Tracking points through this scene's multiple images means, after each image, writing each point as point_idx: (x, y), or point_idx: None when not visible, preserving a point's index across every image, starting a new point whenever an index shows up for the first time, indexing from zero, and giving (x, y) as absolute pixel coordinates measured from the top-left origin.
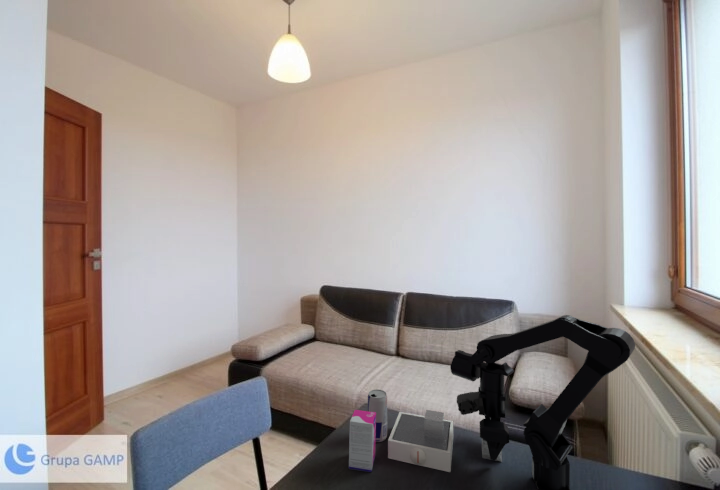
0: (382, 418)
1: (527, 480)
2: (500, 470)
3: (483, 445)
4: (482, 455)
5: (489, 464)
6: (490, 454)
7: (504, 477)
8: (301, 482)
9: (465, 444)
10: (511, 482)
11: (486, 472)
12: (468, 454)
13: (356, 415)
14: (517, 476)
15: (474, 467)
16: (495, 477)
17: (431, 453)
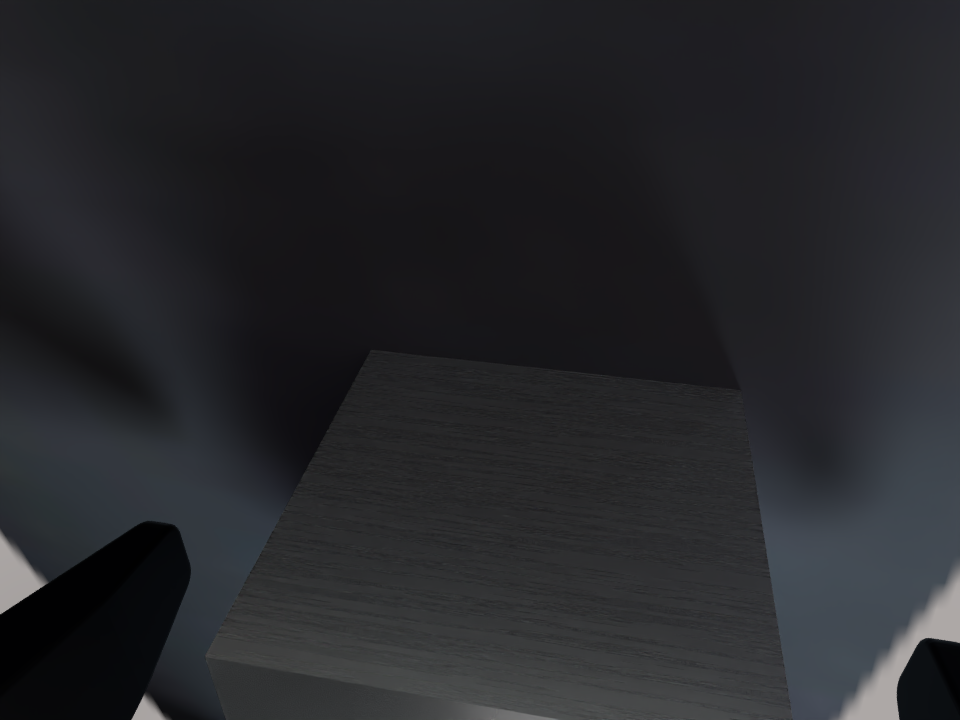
0: None
1: (187, 705)
2: (196, 528)
3: (267, 560)
4: (360, 380)
5: (248, 426)
6: (33, 607)
7: (89, 538)
8: None
9: (790, 16)
10: (53, 579)
11: (33, 355)
12: (367, 83)
13: None
14: (195, 652)
15: (23, 182)
16: (14, 447)
17: None
